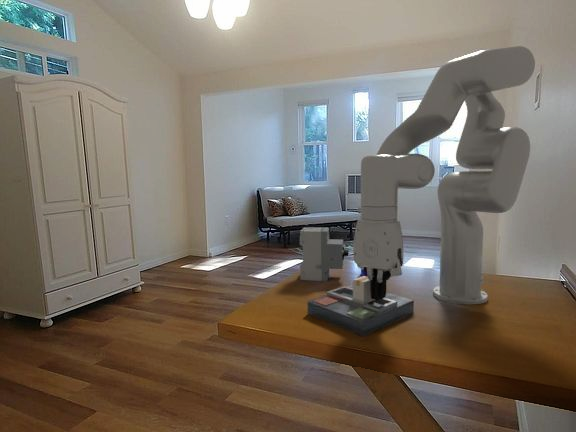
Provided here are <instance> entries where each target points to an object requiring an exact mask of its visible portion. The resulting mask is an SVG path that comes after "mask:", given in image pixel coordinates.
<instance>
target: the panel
mask: <svg viewBox="0 0 576 432" xmlns="http://www.w3.org/2000/svg"><path fill="white" fill-rule="evenodd" d="M414 303H415V301H414V299H411V298H407V297H404V296H399V295H397V294H393V293H389V292H386V297H385V298H383V299H380V300H374V301H371V302H369V303H365V302H362V301H359V300H356V299H353V286H346V285H344V286H341V287H338V288H335V289H331V290H328V291H326V295H322V296H320V297H317V298H313V299H311V300H307V314H308V315H309V316H311V317H315V318H317V319H319V320H322V321H324V322H327V323H330V325H333V326H336V327H339V328H341V329H343V330H346V331H348V332H351V333H354V334H355V335H358V336H360V337H366V336H369V334H373V333H375V332H377V331H378V330H380V329H382V328H384V327H386V326H387V327H388V326H389V325H391V324H393V323H395V322H397V321H400V320H402V319H404V318H406V317H408V316H411V315H412V314H413V313H414V311H415V309H414V308H415V307H414V305H415V304H414Z"/></svg>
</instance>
